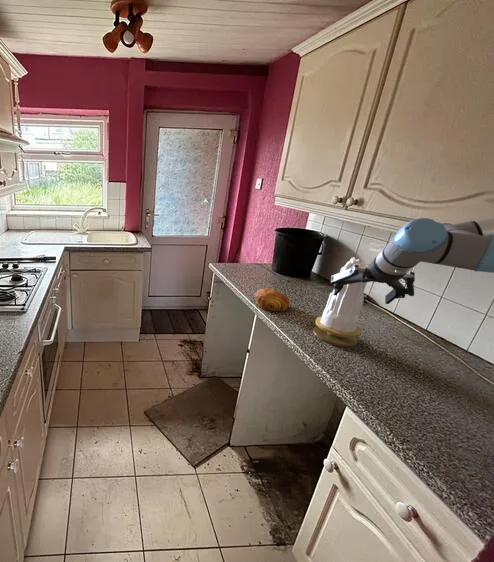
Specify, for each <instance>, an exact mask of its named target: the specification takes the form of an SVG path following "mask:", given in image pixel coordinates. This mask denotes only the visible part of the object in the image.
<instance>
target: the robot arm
mask: <svg viewBox="0 0 494 562" xmlns="http://www.w3.org/2000/svg"><path fill="white" fill-rule="evenodd" d="M421 262H422V263H426V264H433V265H440V266H446V267H451V268H456V269H457V268H458V269H464V270H469V271H473V272H475V273H476V272H481V273H489V274H490V273H491V274H494V216H492V217H486V218H481V219H475V220H470V221H469V220H468V221H463V222H458V223H449V222H447V223H446V222H439V221H436V220H434V219H432V218H427V217H420V218H414V219H412V220H410V221H408V222H407V223H405V224H404V225H403V226H402V227H401V228H400V229H398V230H397V231H396V233H395V234H394V236H393V237H392V238H391V239H390V241H389V242H388V243H387V244H386V246H385V247H383V249H382V250H381V251H380V252H379V253H378V254H377V255H376V256H375V258H374V259H373V260H372V261H371V263H369V264H370V265H369V267H367V266H366V267H367V268H366V267H365V269H363V268H359V265H354V266H352V267H351V268H350V269H347V270H345V271H342V272H340V271H339V272H340V273H339V272H338V273H335V274H333V275H331V276H330V284H331V285H333V290H334V295H336V296H337V294H338V293H339V292H340V291H341V289H342V288H343V286H344V285H347V284H353V283H358V282H363V283H365V282H367V283H371V282H372V283H379V284H386V285H387V286H388V287H389V288H392V290H390V291H389V292H388V293H387V294H386V295H384V296H385V298H384V300H385V301H384V304H385V305H389V304H390V303H392V302H393V301H395V300H397V299H405V298H406V295H408V296H409V297H414V296H415V284H414V282H415V280H416V277H415V276H416V275H415V274H416V273H415V271H411V270H412V269H413V268H415V267H416V266H417V265H418V264H419V263H421ZM365 277H366V279H365ZM400 280H403V281H404V283H405V285H406V287H405V285H403V283H402V282H401V281H400Z"/></svg>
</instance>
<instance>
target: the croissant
mask: <svg viewBox="0 0 494 562" xmlns="http://www.w3.org/2000/svg"><path fill="white" fill-rule="evenodd" d="M254 300H255V302H256V304H257V305H258V306H259V307H260V308H262V309H264V310H266V311H271V312H272V311H275V312H276V311H279V312H282V311H286V310H287V309H288V308H289V307H290V305H291V302H290V299H289V298H288V296H286V295H285V294H284V293H283V292H281V291H278V290H276V289H275V288H267V287H265V288H260V289H258V290H257V291H256V292H255V293H254Z"/></svg>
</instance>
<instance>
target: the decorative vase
mask: <svg viewBox="0 0 494 562" xmlns="http://www.w3.org/2000/svg"><path fill="white" fill-rule="evenodd" d="M370 264H371V263H368V264H366V266H365V263H364V262H363V261H361V260H360V259H359V258H358V259H356V257H354V256H353V257H350V260H348V261H347V262H346V263H345V265H344V266H342V267H341V268H340V270H339V272H338V273H340V272H342V271H345V270H347V269H350V268H351V267H352V266H354V265H359V268H363V269H365V268H367V267H369V265H370ZM365 279H366V277H365ZM367 284H368V282H365V283H363V282H358V283H353V284H347V285H344V286H343V288H342V289H341V291H340V292H339V293H338V294H337V296H336V295H334V289H333V290H332V292H330V293H329V297H328V299H327V303H326V306H325V308H324V310H323V313H322V315H321V316H322V319H321V323H322V324H324V326H326V327H328V328H330V329H333V330H336V331H341V332H348V333H349V332H354V331H355V330H356V327H357V326H358V324H359V321H360V314H361V311H362V308H363V305H364V302H365V301H364V300H365V299H364V295H365V294H364V292H365V289H366V286H367Z"/></svg>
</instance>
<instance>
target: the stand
mask: <svg viewBox="0 0 494 562" xmlns="http://www.w3.org/2000/svg"><path fill="white" fill-rule="evenodd" d="M322 316H323V315H321V316H318V317H316V319H315V325H316V326H314V327H313V328H312V334H313V335H314V336H315V338H317V339H318V340H320V341H322V342H325V343H327V344H329V345H333V346H336V347H341V348H353V347H356V346H357V343H358V338H357V337H359V336H361V333H362V330H361V328H360V327H359V326H358V325H357V327H356V330H355V331H354V332H349V333H348V332H341V331H336V330H333V329H330V328H328V327H326V326H324V324H322V323H321V319H322Z"/></svg>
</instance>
